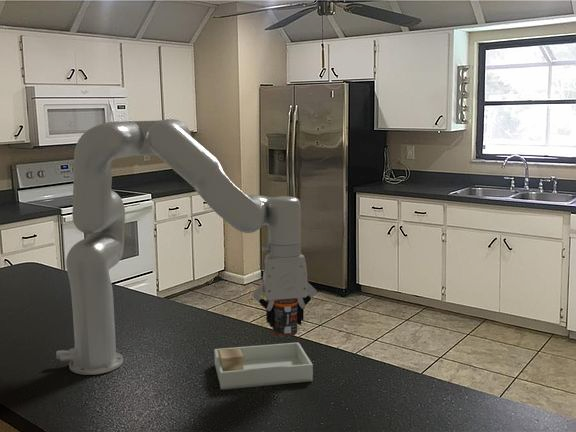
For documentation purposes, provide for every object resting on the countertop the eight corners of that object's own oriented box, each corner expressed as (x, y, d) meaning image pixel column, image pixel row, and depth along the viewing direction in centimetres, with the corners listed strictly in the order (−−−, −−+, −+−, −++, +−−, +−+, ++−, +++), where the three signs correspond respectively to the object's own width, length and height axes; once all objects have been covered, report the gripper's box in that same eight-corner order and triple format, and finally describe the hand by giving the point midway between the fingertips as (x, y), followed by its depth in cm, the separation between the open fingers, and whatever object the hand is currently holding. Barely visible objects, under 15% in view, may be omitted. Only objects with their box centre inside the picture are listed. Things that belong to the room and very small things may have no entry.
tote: (220, 389, 138) (220, 372, 138) (214, 364, 152) (214, 349, 151) (312, 381, 143) (312, 364, 142) (298, 357, 156) (298, 342, 156)
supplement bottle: (295, 338, 143) (294, 291, 141) (270, 337, 144) (269, 290, 143) (299, 330, 149) (299, 284, 147) (275, 328, 150) (275, 283, 148)
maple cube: (222, 378, 142) (221, 358, 142) (219, 370, 147) (219, 350, 146) (243, 376, 144) (243, 356, 143) (240, 368, 148) (240, 348, 147)
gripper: (250, 255, 138) (251, 332, 141) (324, 251, 142) (324, 326, 145) (245, 248, 145) (246, 321, 148) (316, 244, 149) (316, 316, 152)
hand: (285, 323), depth 146 cm, fingers closed on supplement bottle, 6 cm apart
